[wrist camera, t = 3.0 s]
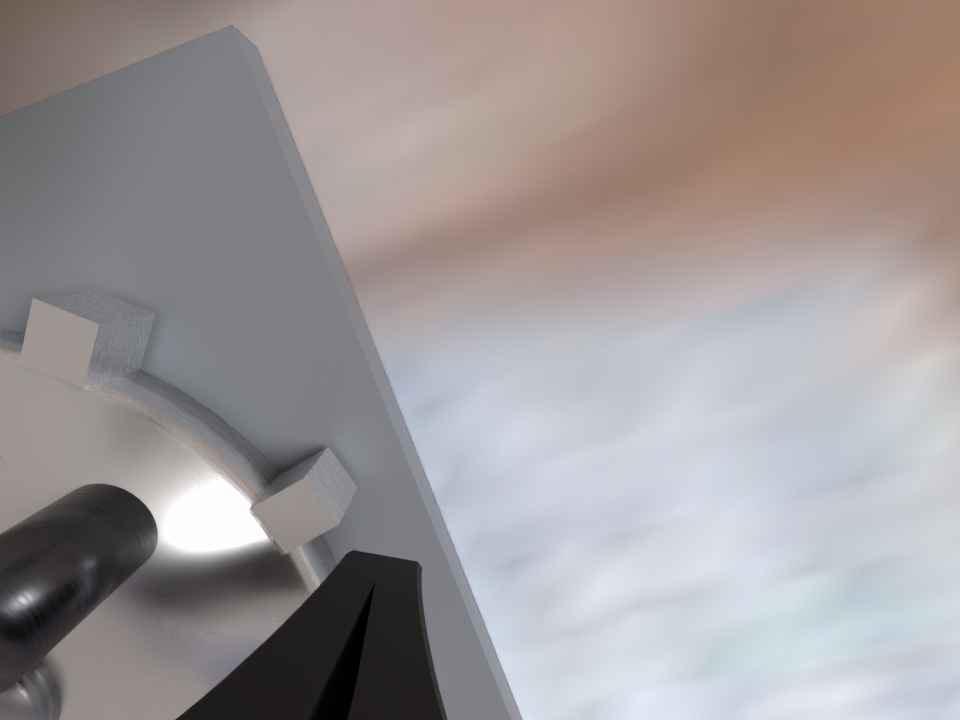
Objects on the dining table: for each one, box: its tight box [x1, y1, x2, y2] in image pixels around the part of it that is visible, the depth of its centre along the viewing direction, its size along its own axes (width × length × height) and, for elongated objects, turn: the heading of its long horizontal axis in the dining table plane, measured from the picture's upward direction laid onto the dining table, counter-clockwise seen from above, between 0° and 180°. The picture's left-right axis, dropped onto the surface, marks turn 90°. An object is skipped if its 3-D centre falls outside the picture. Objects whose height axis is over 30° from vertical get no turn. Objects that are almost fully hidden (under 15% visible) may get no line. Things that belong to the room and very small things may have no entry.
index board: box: [0, 25, 522, 720], centre depth 12 cm, size 22×24×2 cm
